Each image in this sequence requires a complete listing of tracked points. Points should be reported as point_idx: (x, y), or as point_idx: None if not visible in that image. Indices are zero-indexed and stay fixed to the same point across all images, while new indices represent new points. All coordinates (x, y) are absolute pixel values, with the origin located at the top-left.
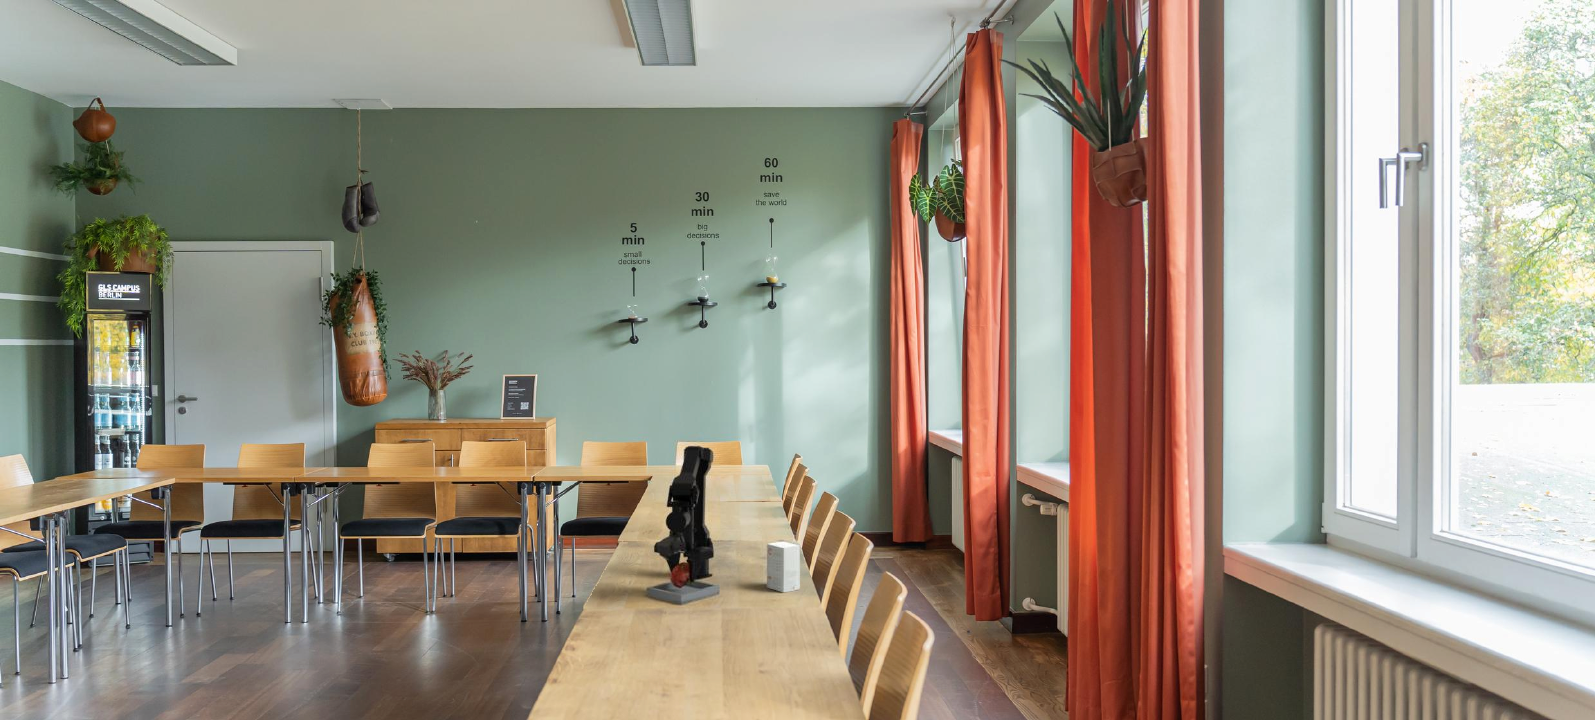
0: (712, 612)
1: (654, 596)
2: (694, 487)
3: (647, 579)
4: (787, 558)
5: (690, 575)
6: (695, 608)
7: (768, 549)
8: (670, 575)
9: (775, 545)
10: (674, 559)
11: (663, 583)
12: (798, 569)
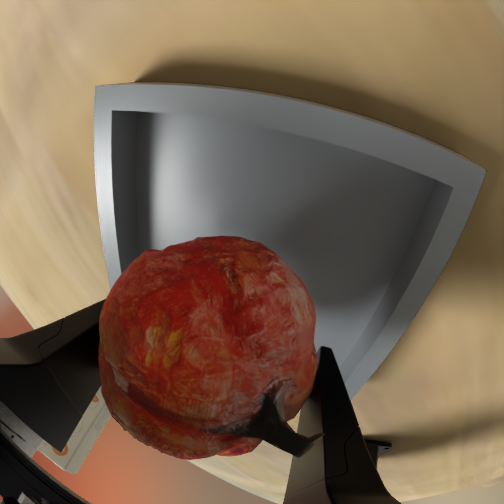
0: (13, 94)
1: (387, 124)
2: None
3: (500, 394)
4: None
5: (101, 308)
6: (60, 84)
7: (63, 454)
8: (287, 305)
9: (37, 449)
10: (302, 498)
11: (410, 317)
12: None
